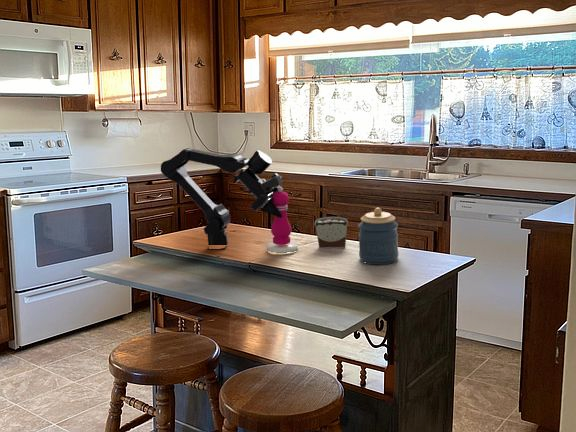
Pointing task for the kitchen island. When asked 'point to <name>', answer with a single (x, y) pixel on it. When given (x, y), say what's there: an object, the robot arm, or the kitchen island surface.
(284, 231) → the pepper mill
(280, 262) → the kitchen island surface
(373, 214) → the canister
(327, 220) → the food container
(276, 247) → the stand
